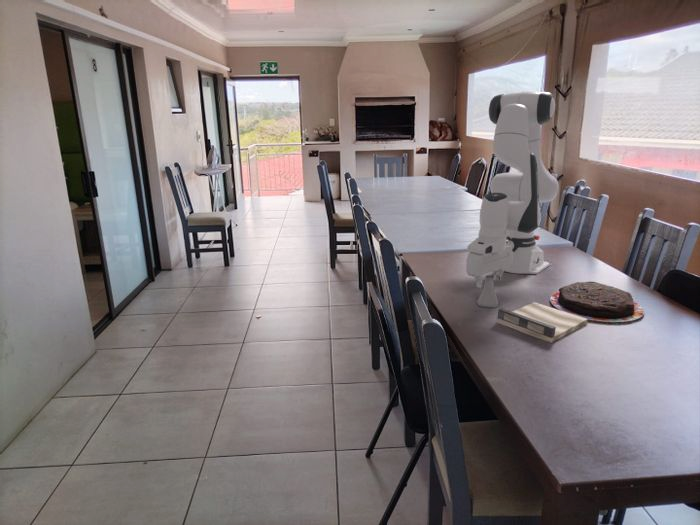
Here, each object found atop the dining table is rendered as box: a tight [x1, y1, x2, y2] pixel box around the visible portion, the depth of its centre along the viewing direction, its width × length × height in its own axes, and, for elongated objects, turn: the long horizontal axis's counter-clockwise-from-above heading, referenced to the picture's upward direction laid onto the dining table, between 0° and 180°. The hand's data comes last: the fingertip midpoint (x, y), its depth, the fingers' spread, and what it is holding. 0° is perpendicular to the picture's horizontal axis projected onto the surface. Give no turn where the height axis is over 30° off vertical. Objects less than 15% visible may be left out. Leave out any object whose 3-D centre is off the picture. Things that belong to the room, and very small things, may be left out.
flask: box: [476, 274, 500, 309], centre depth 161 cm, size 7×7×10 cm
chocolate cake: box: [549, 281, 645, 325], centre depth 157 cm, size 28×28×7 cm
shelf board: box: [496, 301, 588, 344], centre depth 146 cm, size 20×18×4 cm
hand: (488, 283), depth 159 cm, fingers open, 8 cm apart
